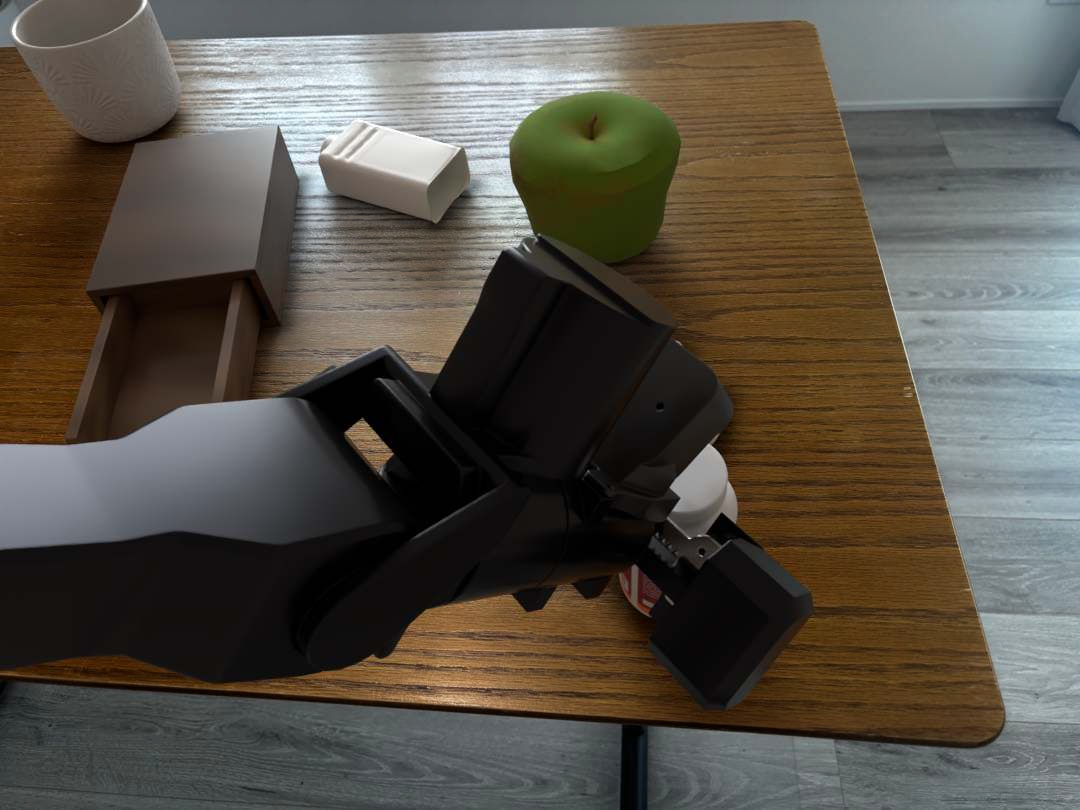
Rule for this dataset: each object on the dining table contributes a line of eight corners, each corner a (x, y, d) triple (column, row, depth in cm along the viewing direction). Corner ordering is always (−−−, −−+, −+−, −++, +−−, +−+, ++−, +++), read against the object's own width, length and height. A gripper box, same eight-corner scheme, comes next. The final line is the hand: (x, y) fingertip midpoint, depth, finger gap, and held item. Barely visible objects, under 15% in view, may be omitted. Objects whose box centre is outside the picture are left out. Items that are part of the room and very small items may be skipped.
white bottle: (355, 151, 79) (343, 111, 76) (472, 182, 74) (465, 141, 71) (313, 192, 76) (298, 152, 72) (433, 228, 71) (423, 186, 68)
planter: (76, 170, 81) (10, 64, 72) (66, 107, 88) (6, 4, 79) (203, 131, 83) (155, 23, 75) (183, 73, 90) (137, -31, 82)
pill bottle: (746, 575, 49) (772, 470, 41) (677, 648, 47) (689, 553, 38) (665, 512, 52) (672, 402, 44) (596, 578, 50) (590, 475, 41)
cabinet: (281, 325, 65) (255, 269, 61) (122, 346, 65) (84, 291, 61) (299, 181, 77) (278, 124, 72) (164, 198, 77) (135, 142, 72)
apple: (661, 181, 72) (666, 58, 64) (685, 279, 65) (695, 154, 56) (517, 197, 73) (502, 76, 64) (524, 295, 65) (508, 174, 56)
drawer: (244, 499, 54) (220, 462, 51) (73, 522, 54) (37, 486, 51) (272, 299, 66) (254, 258, 63) (131, 317, 66) (105, 278, 63)
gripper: (828, 513, 25) (945, 498, 37) (465, 221, 35) (653, 286, 47) (631, 766, 29) (798, 676, 41) (352, 436, 38) (555, 444, 51)
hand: (694, 504), depth 45 cm, fingers closed on pill bottle, 6 cm apart
